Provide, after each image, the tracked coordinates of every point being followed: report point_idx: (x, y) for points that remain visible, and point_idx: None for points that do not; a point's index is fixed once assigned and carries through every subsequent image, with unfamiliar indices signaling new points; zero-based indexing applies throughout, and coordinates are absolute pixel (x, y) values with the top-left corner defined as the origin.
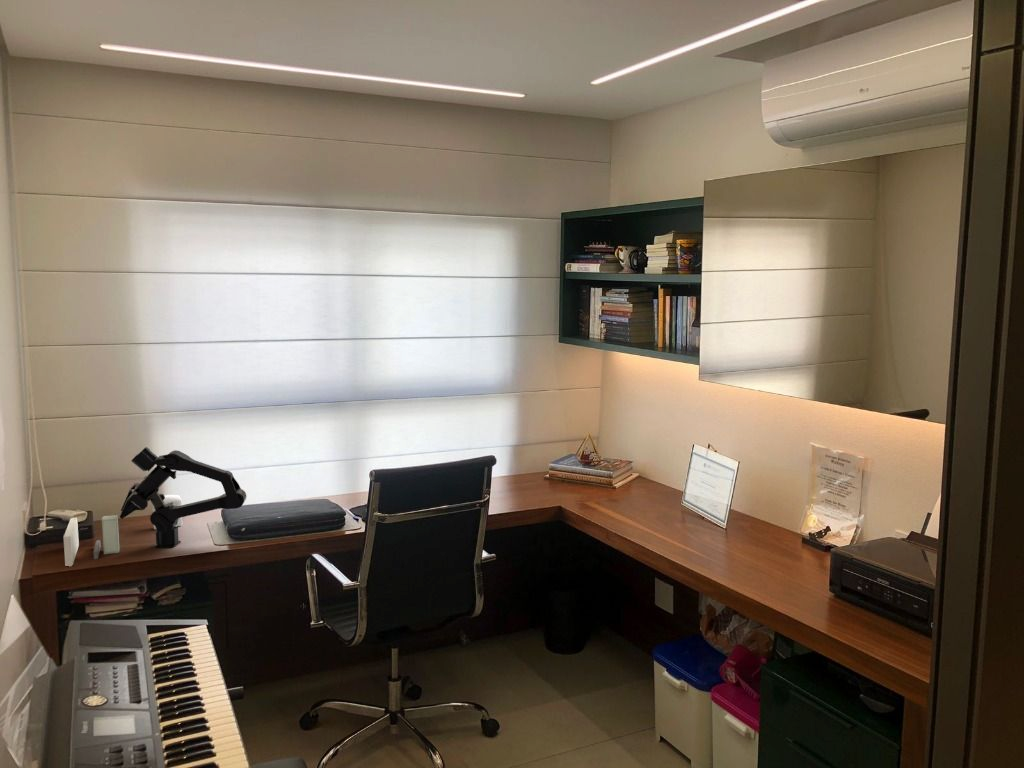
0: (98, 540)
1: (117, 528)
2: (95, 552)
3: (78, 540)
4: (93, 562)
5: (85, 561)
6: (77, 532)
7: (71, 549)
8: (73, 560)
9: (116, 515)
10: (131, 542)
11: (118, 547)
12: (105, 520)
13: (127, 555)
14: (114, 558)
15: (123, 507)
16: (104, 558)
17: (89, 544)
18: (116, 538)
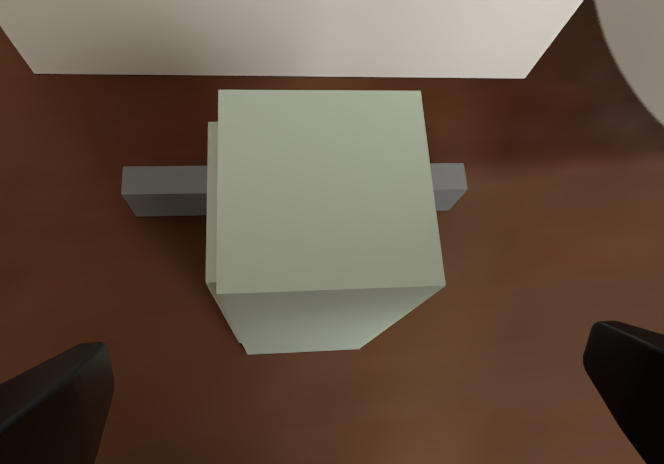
0: (454, 177)
1: (247, 322)
2: (123, 182)
3: (536, 56)
4: (55, 194)
5: (111, 142)
6: (534, 5)
7: None
8: (129, 67)
9: (422, 272)
10: (514, 432)
11: (248, 349)
12: (220, 140)
13: (127, 437)
14: (87, 336)
15: (639, 366)
16: (125, 261)
17: (530, 136)
18: (231, 325)
